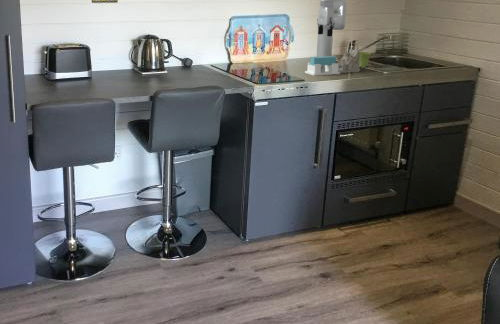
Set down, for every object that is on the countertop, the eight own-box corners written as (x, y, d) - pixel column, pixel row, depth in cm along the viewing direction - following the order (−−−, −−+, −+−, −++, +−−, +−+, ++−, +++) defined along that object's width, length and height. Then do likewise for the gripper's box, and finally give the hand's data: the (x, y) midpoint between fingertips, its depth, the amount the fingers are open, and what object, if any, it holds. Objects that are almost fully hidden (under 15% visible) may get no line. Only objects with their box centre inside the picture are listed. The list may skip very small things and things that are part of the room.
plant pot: (351, 65, 368) (352, 52, 365) (364, 65, 371) (365, 51, 368) (359, 68, 360) (360, 54, 357) (372, 67, 363) (373, 53, 360)
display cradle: (304, 72, 339) (305, 62, 337) (330, 71, 347) (331, 61, 345) (313, 75, 331) (314, 65, 329) (340, 73, 338) (340, 63, 336)
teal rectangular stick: (310, 64, 336) (310, 57, 334) (331, 63, 342) (332, 56, 340) (313, 65, 332) (314, 58, 331) (335, 64, 338) (336, 57, 337)
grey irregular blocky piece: (350, 67, 361) (351, 43, 356) (364, 72, 347) (366, 47, 341) (328, 69, 356) (329, 45, 350) (342, 75, 342) (343, 50, 336)
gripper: (313, 3, 332) (311, 33, 337) (329, 5, 317) (327, 37, 323) (324, 3, 335) (322, 33, 341) (341, 5, 320) (338, 36, 326)
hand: (325, 35), depth 332 cm, fingers open, 9 cm apart
